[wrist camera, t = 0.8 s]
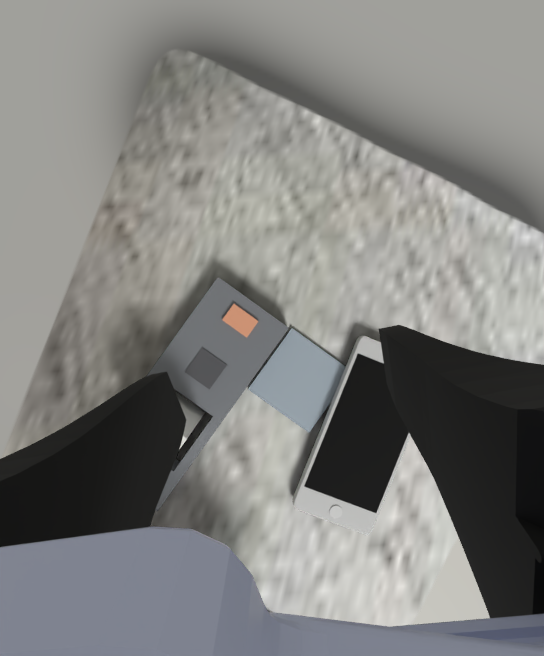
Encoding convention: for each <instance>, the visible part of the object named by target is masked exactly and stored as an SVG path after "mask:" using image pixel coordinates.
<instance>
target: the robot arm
mask: <svg viewBox="0 0 544 656" xmlns="http://www.w3.org/2000/svg"><path fill="white" fill-rule="evenodd" d="M379 333H380V340H381V347H382V354H383V361H384V368H385V376H386V383H387V386H388V389H389V392H390V394H391V397H392V400H393V402H394V405H395V407H396V410H397V411H398V413H399V415H400V417H401V419H402V421H403V422H404V424H405V426H406V428H407V430H408V431H409V433H410V435H411V437H412V439H413V440H414V442H415V444H416V446H417V448H418V449H419V451H420V453H421V455H422V457H423V458H424V460H425V462H426V464H427V465H428V467H429V469H430V471H431V473H432V475H433V477H434V479H435V482H436V484H437V486H438V489H439V491H440V493H441V496H442V498H443V500H444V503H445V505H446V507H447V510H448V512H449V515H450V517H451V519H452V522H453V524H454V527H455V529H456V532H457V534H458V537H459V539H460V541H461V544H462V546H463V548H464V551H465V554H466V556H467V559H468V561H469V564H470V566H471V569H472V571H473V574H474V577H475V579H476V582H477V584H478V587H479V589H480V592H481V594H482V597H483V599H484V602H485V605H486V608H487V610H488V613H489V616H490V618H489V619H476V620H465V621H453V622H441V623H429V624H417V625H405V626H393V627H387V626H379V625H371V624H363V623H355V622H347V621H338V620H330V619H322V618H314V617H306V616H298V615H290V614H282V613H272V612H268V610H267V609H266V607H265V605H264V603H263V601H262V598H261V596H260V593H259V591H258V588H257V586H256V583H255V581H254V578H253V576H252V574H251V573H250V572H249V571H248V569H247V568H246V567H245V566H244V565H243V563H242V562H241V561H240V560H239V559H238V557H237V556H236V555H235V554H234V553H233V551H232V550H231V549H230V548H229V547H228V546H227V545H226V544H224V543H222V542H220V541H217V540H215V539H213V538H211V537H209V536H206V535H204V534H202V533H200V532H198V531H195V530H193V529H187V528H170V527H154V526H152V527H150V525H151V521H152V518H153V515H154V512H155V509H156V507H157V504H158V501H159V499H160V496H161V494H162V491H163V489H164V487H165V484H166V482H167V479H168V477H169V474H170V472H171V469H172V467H173V464H174V462H175V459H176V456H177V454H178V451H179V448H180V446H181V442H182V438H183V434H184V429H185V424H186V417H185V415H184V413H183V410H182V408H181V405H180V403H179V400H178V398H177V395H176V393H175V390H174V388H173V385H172V383H171V380H170V378H169V375H168V373H167V371H166V372H161V373H156V374H151V375H149V376H146V377H144V378H142V379H140V380H139V381H137V382H135V383H134V384H132V385H130V386H129V387H127V388H126V389H124V390H123V391H121V392H119V393H118V394H116V395H115V396H113V397H112V398H110V399H109V400H107V401H106V402H104V403H103V404H101V405H100V406H98V407H96V408H95V409H93V410H92V411H90V412H88V413H87V414H85V415H83V416H82V417H80V418H79V419H77V420H75V421H74V422H72V423H71V424H69V425H67V426H65V427H64V428H62V429H60V430H58V431H57V432H55V433H53V434H51V435H49V436H47V437H45V438H43V439H42V440H40V441H38V442H36V443H34V444H32V445H30V446H28V447H26V448H24V449H21V450H19V451H17V452H15V453H13V454H11V455H8V456H6V457H4V458H2V459H0V656H544V365H541V364H534V363H526V362H520V361H515V360H509V359H504V358H500V357H495V356H491V355H486V354H482V353H478V352H475V351H471V350H468V349H465V348H461V347H458V346H455V345H452V344H449V343H446V342H443V341H440V340H438V339H435V338H432V337H430V336H427V335H425V334H422V333H420V332H417V331H415V330H412V329H410V328H407V327H404V326H401V325H397V326H392V327H387V328H382V329H379Z"/></svg>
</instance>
